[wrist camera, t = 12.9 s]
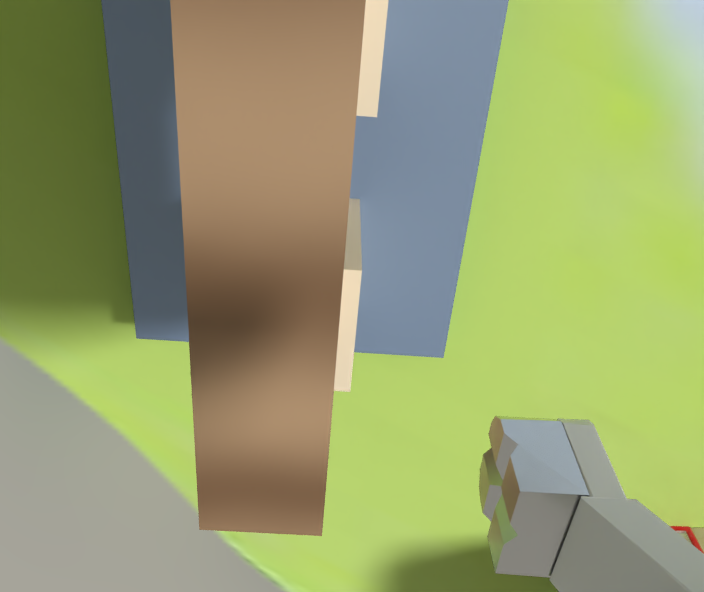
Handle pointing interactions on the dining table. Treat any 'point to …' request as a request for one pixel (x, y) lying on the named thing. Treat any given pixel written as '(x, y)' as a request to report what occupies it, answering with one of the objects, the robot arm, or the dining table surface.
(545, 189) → the dining table surface
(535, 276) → the dining table surface
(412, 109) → the board
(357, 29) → the walnut beam
